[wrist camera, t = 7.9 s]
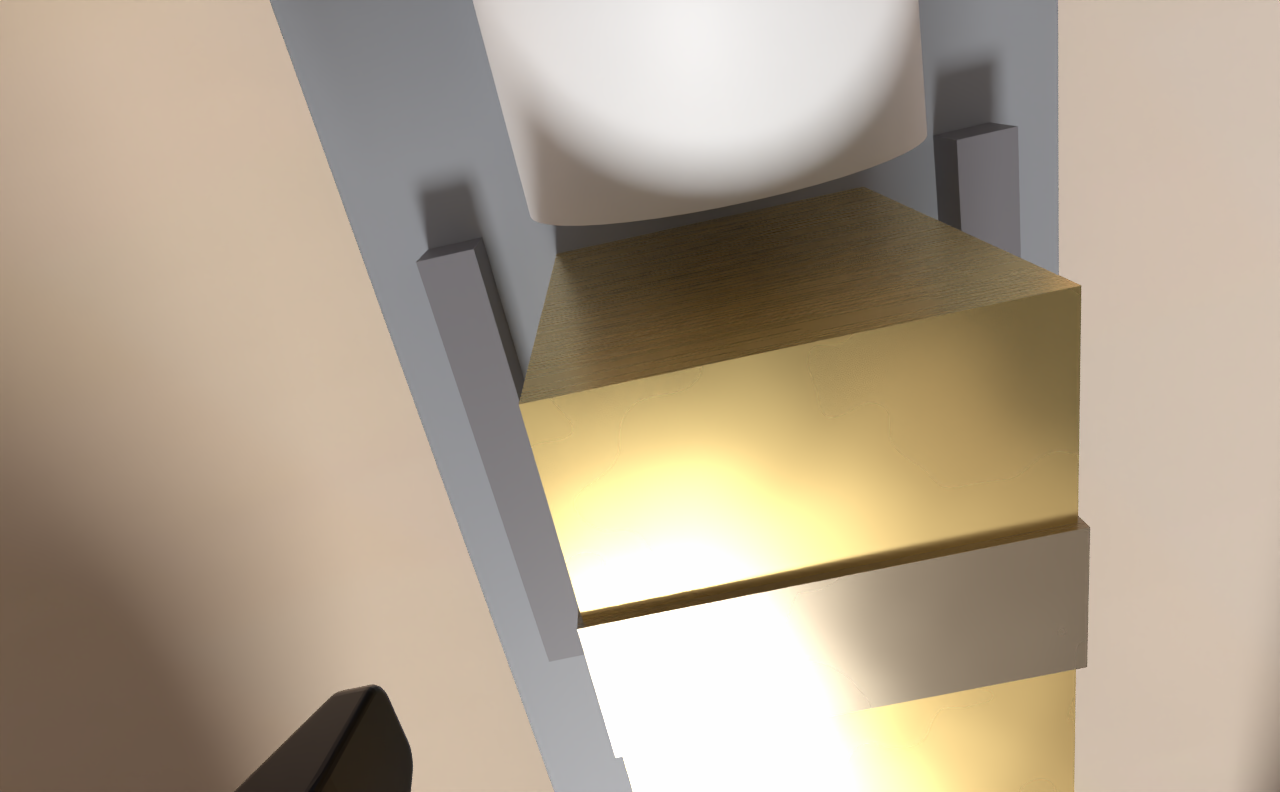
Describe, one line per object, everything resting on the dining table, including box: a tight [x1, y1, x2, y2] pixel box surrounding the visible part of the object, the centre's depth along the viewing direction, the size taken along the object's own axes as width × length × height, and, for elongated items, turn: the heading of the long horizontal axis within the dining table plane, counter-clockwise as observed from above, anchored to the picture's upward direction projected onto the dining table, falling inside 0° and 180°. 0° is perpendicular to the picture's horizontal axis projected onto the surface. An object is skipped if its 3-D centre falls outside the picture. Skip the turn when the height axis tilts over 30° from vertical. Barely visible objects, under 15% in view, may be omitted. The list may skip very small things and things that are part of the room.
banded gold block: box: [519, 187, 1090, 792], centre depth 10 cm, size 6×5×6 cm
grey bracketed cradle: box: [270, 0, 1059, 792], centre depth 10 cm, size 20×10×6 cm, turn 12°
